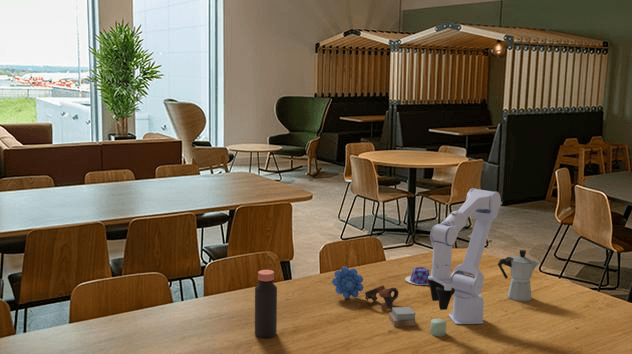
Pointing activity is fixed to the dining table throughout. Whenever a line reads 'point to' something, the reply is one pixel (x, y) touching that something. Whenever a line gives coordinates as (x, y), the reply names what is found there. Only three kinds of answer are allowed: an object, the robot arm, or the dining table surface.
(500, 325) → the dining table surface
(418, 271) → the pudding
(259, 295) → the bottle
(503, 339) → the dining table surface
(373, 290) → the pottery mug
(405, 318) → the tower top
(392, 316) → the tower base
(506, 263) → the coffee maker
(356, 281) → the blue flower
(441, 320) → the green cylinder
